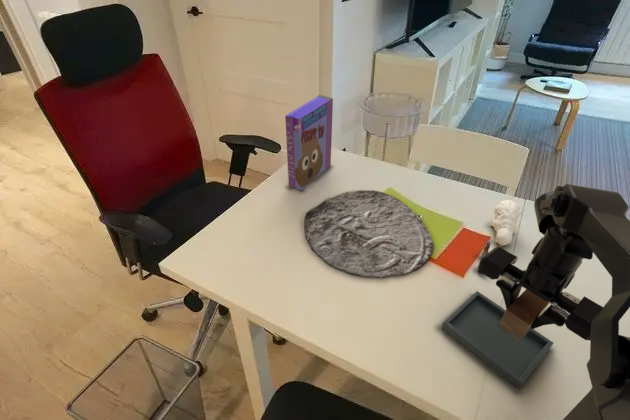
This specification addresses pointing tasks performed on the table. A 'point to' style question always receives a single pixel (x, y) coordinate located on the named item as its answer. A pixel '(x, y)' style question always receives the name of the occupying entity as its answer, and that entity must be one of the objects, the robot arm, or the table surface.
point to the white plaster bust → (505, 221)
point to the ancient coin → (368, 234)
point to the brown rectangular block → (522, 314)
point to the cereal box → (309, 141)
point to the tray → (496, 339)
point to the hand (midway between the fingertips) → (520, 319)
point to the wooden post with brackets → (486, 249)
